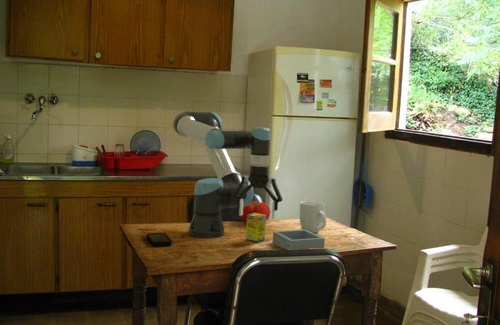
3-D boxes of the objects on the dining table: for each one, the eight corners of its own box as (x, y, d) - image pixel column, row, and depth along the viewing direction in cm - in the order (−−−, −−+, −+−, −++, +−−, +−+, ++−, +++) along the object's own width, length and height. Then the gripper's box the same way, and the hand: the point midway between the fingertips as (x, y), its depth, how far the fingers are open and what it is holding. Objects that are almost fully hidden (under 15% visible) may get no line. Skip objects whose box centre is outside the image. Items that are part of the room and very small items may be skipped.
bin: (290, 252, 213) (291, 240, 212) (272, 242, 227) (273, 231, 226) (323, 249, 219) (324, 238, 219) (304, 240, 233) (305, 229, 232)
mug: (333, 235, 245) (335, 206, 243) (314, 237, 239) (316, 207, 237) (312, 227, 257) (313, 200, 256) (293, 229, 251) (295, 201, 249)
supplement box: (257, 243, 224) (259, 216, 223) (245, 240, 227) (246, 214, 226) (265, 240, 229) (266, 214, 228) (252, 238, 232) (254, 212, 231)
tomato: (273, 221, 267) (275, 201, 266) (260, 227, 252) (261, 206, 251) (247, 217, 273) (248, 197, 271) (232, 223, 258) (233, 202, 257)
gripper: (227, 164, 224) (225, 215, 226) (287, 168, 218) (285, 221, 220) (232, 162, 231) (230, 212, 234) (291, 166, 225) (288, 217, 227)
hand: (257, 216), depth 227 cm, fingers open, 13 cm apart
